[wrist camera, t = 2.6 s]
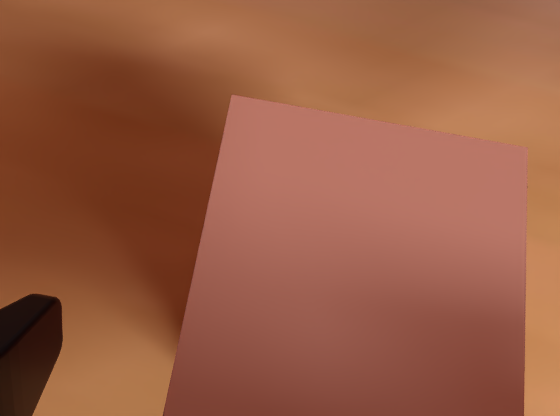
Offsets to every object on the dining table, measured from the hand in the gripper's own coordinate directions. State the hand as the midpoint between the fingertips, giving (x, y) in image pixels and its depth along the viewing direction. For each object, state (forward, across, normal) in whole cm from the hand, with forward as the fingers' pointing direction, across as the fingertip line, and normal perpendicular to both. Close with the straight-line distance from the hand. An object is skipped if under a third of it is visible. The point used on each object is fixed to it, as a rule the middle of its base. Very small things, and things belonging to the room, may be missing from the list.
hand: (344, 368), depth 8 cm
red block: (+8, 0, +6) cm, 9 cm away
